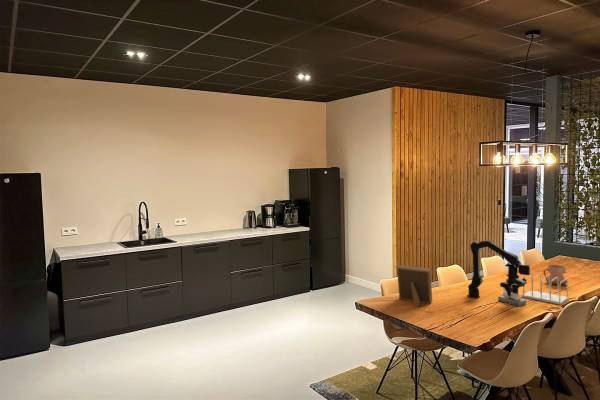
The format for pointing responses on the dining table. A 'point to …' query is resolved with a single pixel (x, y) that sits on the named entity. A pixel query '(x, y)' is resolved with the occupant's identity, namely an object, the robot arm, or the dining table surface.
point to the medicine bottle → (505, 290)
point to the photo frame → (414, 284)
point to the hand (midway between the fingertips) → (512, 295)
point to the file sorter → (546, 296)
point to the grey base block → (512, 301)
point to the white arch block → (512, 296)
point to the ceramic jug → (556, 274)
